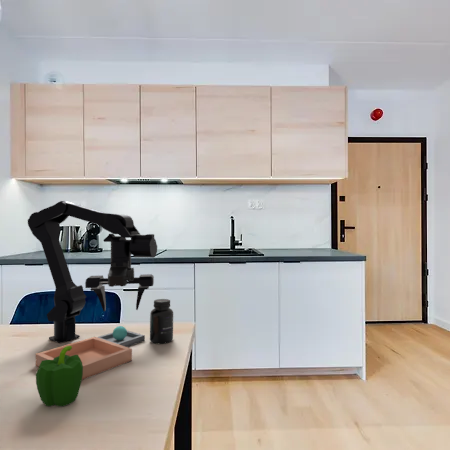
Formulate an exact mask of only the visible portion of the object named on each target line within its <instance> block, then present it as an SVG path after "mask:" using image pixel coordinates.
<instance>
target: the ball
mask: <svg viewBox="0 0 450 450" xmlns="http://www.w3.org/2000/svg"><path fill="white" fill-rule="evenodd" d="M127 331H128V330H127V329H126V327H124V325H123V326H122V325H119V326H116V327H115V328H114V329H113V331H112V333H113V337H114V338H115V339H116V340H123V339H124V338H125V337H126V335H127Z"/></svg>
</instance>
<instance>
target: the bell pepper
mask: <svg viewBox="0 0 450 450" xmlns="http://www.w3.org/2000/svg"><path fill="white" fill-rule="evenodd" d="M71 349H72V346H66V347H65V348H63V349H62V351H61V353H60V356H58V357H55V358H54V359H53V360H44V361H41V364H40V366H39V368H38V367H37V371H36V373H35V385H36V388H37V392H38V395H39V399H40V400H41V402H42V403H43V404H44V406H46V407H51V406H52V407H53V406H57V407H64V406H65V407H66V406H69V405H70V404H72V403H73V402H75V401H76V399H77V398H78V396H79V392H80V389H81V386H82V381H83V380H82V376H83V365H82V362H81V359H80V358H79V356H78V355H73V356H68V355H65V353H66V352H67V351H70V350H71Z"/></svg>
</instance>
